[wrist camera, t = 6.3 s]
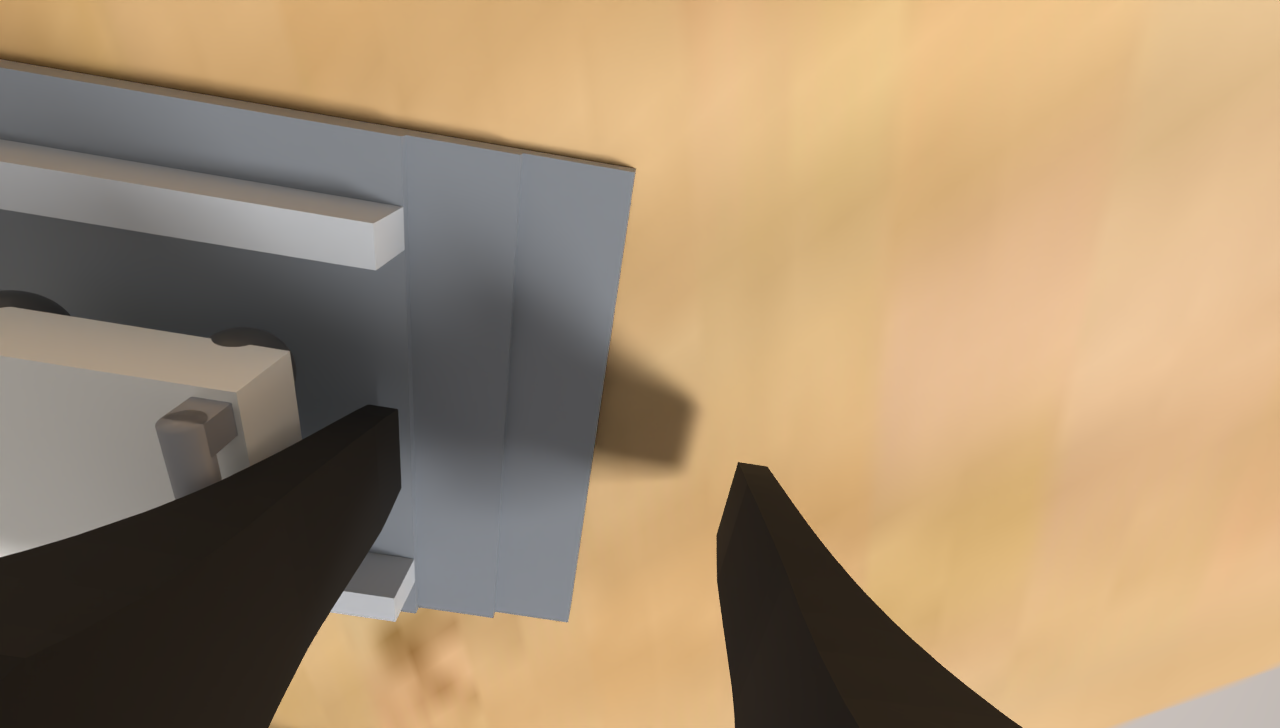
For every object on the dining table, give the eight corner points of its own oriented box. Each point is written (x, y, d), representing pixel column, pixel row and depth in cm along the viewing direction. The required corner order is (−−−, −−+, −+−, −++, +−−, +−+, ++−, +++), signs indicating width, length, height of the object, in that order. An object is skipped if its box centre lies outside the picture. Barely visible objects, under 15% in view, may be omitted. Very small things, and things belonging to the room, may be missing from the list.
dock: (570, 610, 16) (555, 692, 14) (-17, 524, 16) (-124, 596, 14) (635, 168, 11) (627, 195, 9) (-266, 13, 10) (-511, 0, 8)
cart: (342, 530, 13) (249, 664, 10) (72, 490, 13) (-100, 615, 10) (319, 322, 11) (191, 419, 8) (-12, 269, 11) (-271, 349, 8)
